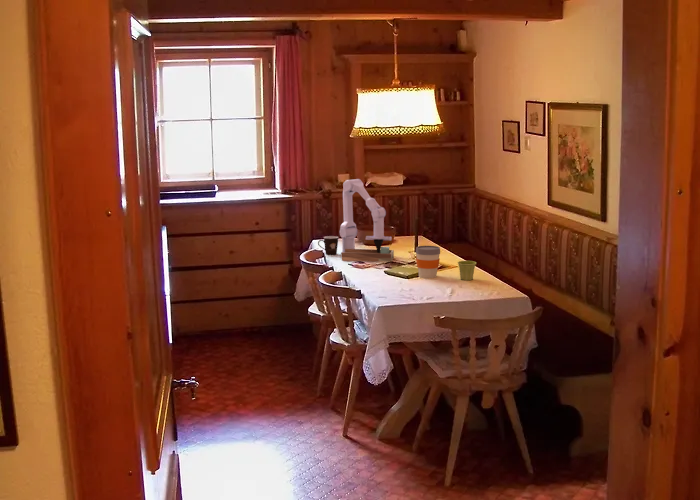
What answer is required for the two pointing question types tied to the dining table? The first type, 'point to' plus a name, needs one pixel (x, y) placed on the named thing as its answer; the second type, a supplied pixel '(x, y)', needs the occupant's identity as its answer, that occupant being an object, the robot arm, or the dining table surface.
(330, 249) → the coffee mug
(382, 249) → the teal block
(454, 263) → the dining table surface
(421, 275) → the reusable coffee cup
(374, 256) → the trap tray
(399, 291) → the dining table surface
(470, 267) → the plant pot
